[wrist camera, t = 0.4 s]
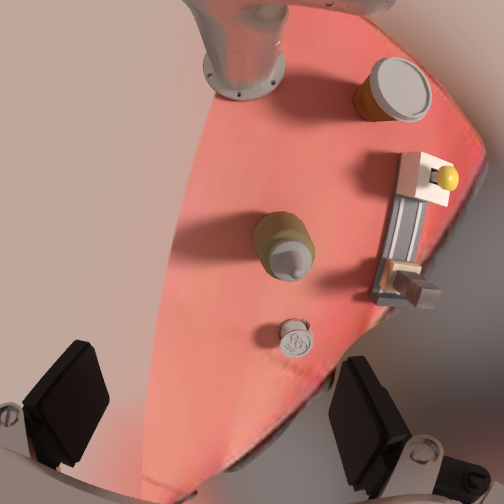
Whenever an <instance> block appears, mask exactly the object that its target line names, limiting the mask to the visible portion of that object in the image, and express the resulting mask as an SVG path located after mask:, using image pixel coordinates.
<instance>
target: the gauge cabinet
mask: <svg viewBox="0 0 504 504" xmlns="http://www.w3.org/2000/svg"><path fill="white" fill-rule="evenodd" d="M441 166H452V167H453V164H451V163H448V162H446V161H444V160H441V159H439V158H436V157H434V156H431V155H429V154H426V153H424V152H408V153H402V158H401V165H400V173H399V179H398V185H397V191H396V193H397V194H401V195H405V196H408V197H412V198H415V199H419V200H422V201H426V202H429V203H434V204H438V205H442V206H446V207H447V205H448V199H449V193H450V191H448V190H443V189H442V188H440V186H439V185H438V182H432V181H429V180H430V173H431V171H433V172H438V169H439V168H440V167H441Z"/></svg>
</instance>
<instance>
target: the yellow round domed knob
mask: <svg viewBox="0 0 504 504" xmlns="http://www.w3.org/2000/svg"><path fill="white" fill-rule="evenodd" d="M429 181H432V182H438V185H439V186H440V188H442V189H443V190H448V191H452V190H454V189H455V188H456V187H457V185H458V174H457V171H456V170H455V168H454V167H452V166H441V167H440V168H439V169H438V172H433V171H431V173H430V180H429Z"/></svg>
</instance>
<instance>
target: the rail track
mask: <svg viewBox="0 0 504 504" xmlns="http://www.w3.org/2000/svg"><path fill="white" fill-rule="evenodd" d="M401 158H402V153H400V156H399V163H398V171H397V177H396V184H395V190H394V196H393V201H392V207H391V212H390V217H389V222H388V226H387V231H386V236H385V240H384V244H383V248H382V253H381V257H380V261H379V264H378V268H377V272H376V276H375V279H374V283H373V286H372V290H371V293H370V297H369V298H370V299H371V300H372V301H373V302H374V303H375V305H377V306H391V307H408V305H409V301H408V300H407V299H406V298H405V297H403V296H402V295H401V294H400V293H392V292H386V291H385V290H384V289H382V288H381V287H380V286H379V283H380V280H381V276H382V273H383V269H384V265H385V261H386V258H391V259H397V260H403V261H410V262H414V259H415V255H416V251H417V248H418V243H419V239H420V235H421V231H422V226H423V221H424V217H425V211H426V206H427V202H426V201H422V200H419V199H415V198H412V197H408V196H405V195H401V194H397V193H396V191H397V185H398V179H399V173H400V165H401Z"/></svg>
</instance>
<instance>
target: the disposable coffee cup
mask: <svg viewBox="0 0 504 504" xmlns="http://www.w3.org/2000/svg"><path fill="white" fill-rule="evenodd" d="M353 100H354V106H355V109H356V111H357V112H358V114H359V115H360V116H361V117H363V118H364V119H366V120H368V121H372V122H377V121H396V120H398V121H402V122H416V121H419V120H420V119H422V118H423V117H424V116H425V115H426V113H427V112H428V110H429V108H430V106H431V103H432V91H431V87H430V84H429V82H428V80H427V78H426V76H425V75H424V74H423V72H422V71H421V70H420V69H419V68H418V67H417V66H416V65H415V64H413V63H412V62H410V61H408V60H406V59H403V58H398V57H386V58H382V59H381V60H379V61H378V62H376V63H375V65H374V66H373V68H372V70H371V73H370V75H369V76H368V78H367V79H366V80H365V81H364V83H363V84H362V85H361V86H360V88H359V89H358V90H357V91H356V93H355V95H354V99H353Z"/></svg>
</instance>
